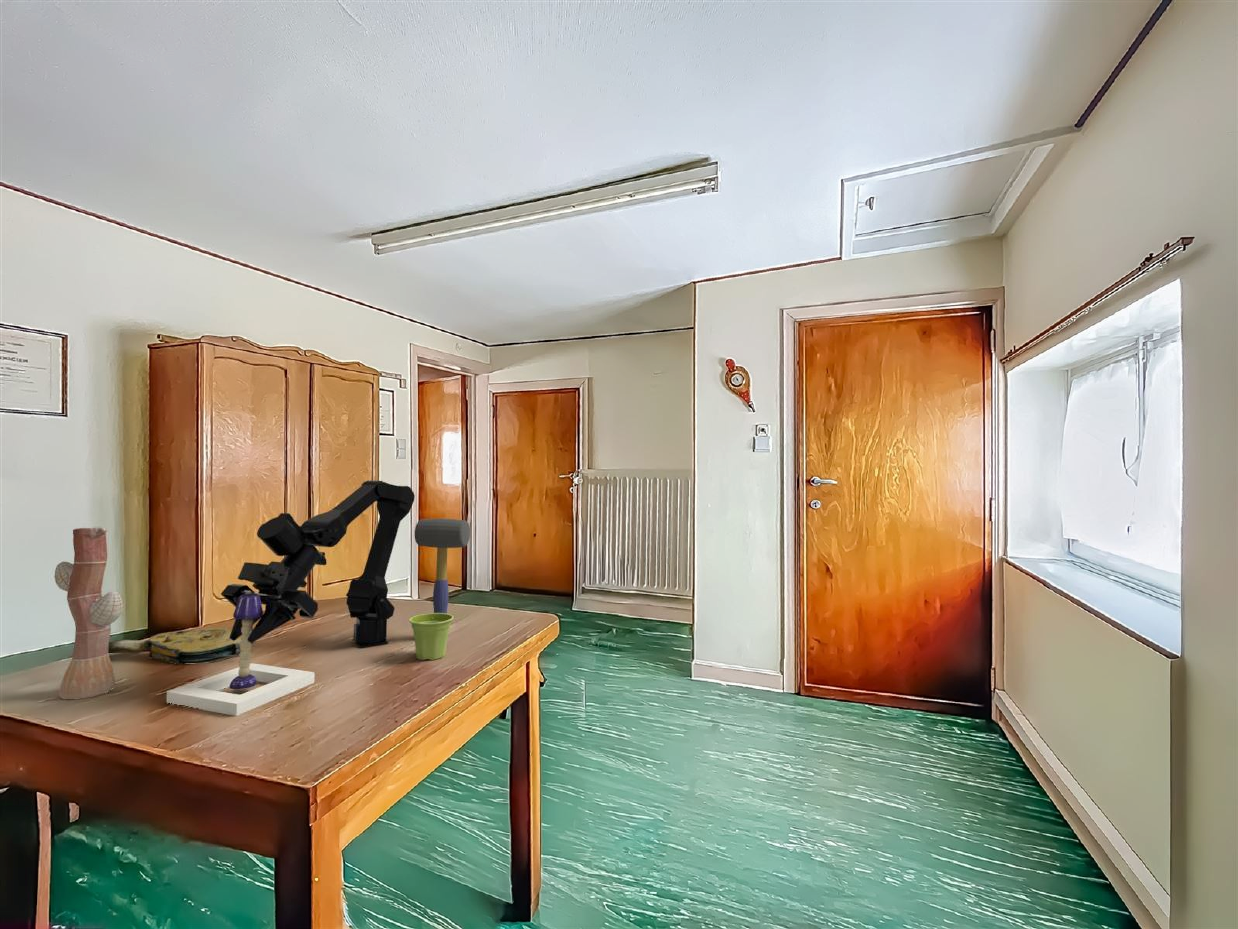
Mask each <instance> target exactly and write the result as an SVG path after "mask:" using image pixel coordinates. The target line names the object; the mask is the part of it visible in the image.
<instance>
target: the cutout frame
mask: <svg viewBox="0 0 1238 929" xmlns="http://www.w3.org/2000/svg"><path fill="white" fill-rule="evenodd" d="M249 668H250V673H249V674H250V675H253V676H255V678H256V680H257V683H258V682H259V683H260V682H261V683H265V685H261V686H259V687H256V688H253V689H252V690H249V691H247V692H243V693H242V694H237V693H231V692H225V691H224V692H223V691H222V690H225V689H228V688H230V683H231V681H232V680H233V679H234V678H235V677H237V676H239V674H238V671H239V669H240V667H236V668H233V669H230V670H226V671H224V672H220V673H217V674H216V675H212V676H209V677H206V678H203V679H200V680H197V681H194V682H191V683H188V684H185V685H182V686H179V687H177V688H174V689H171V690H167V691H166V702H167V703H166V704H168V703H170V704H169V705H174V704H177V705H176V706H179V705H185V706H189V707H188V708H190V707H193V708H192V709H196V708H199V709H198V710H201V709H202V710H201V711H208V712H212V713H219V714H224V715H229V716H235V717H237V716H240V715H243V714H244V713H246V712H249V711H251V710H253V709H256V708H258V707H261V706H264V705H266V704H267V703H268V704H269V703H271V702H273V701H275V700H277V699H280V698H282V697H284V696H287V695H289V694H291V693H293V692H296V691H298V690H300V689H302V688H305V687H308V686H310V685H312V684H315V672H314V671H307V670H300V669H296V668H295V669H293V668H288V667H280V666H275V665H274V666H273V665H267V664H259V663H252V662H251V663H250V666H249ZM224 688H225V689H224ZM171 703H172V704H171ZM185 706H184V707H185Z"/></svg>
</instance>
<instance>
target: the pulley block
mask: <svg viewBox="0 0 1238 929" xmlns="http://www.w3.org/2000/svg"><path fill="white" fill-rule="evenodd" d="M232 628H233V626H229V627H228V626H224V627H208V628H197V629H189V630H188V629H187V630H177V631H176V630H175V631H168V632H161V633H157V634H155V635H152V636H150V637H149V638H148V640H138V639H137V640H136V639H133V640H132V639H118V640H114V641H109V646H108V654H133V653H149V655H148V658H149V657H151V658H152V659H151V658H150V659H151V660H156V661H160V662H164V661H166V662H165V663H169V662H172V663H171V664H173V663H176V664H175V665H178V664H181V663H202V664H206V663H205V662H210V663H214V662H213V661H215V662H219V661H223V660H228V659H230V658H233V657H240V652H241V650H240V645H241V643H242V642H241V636H240V637H239V638H237V639H236V640H235V641H233V640H231V639H230V634H231V631H232ZM238 654H239V655H238ZM181 665H182V664H181Z"/></svg>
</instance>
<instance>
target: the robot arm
mask: <svg viewBox="0 0 1238 929" xmlns="http://www.w3.org/2000/svg"><path fill="white" fill-rule="evenodd" d="M415 496H416V495H415V492H414V491H413V489H412V487H410V486H408V485H396V484H392V483H388V482H385V481H384V480H366V481H363V482H362V483H361V486H359V487H358V488H357V489H356V490H355V491H353V492H352V493H351V494H350V495H348V496H347V497H346V498H344V499H343V500H342V501H341V502H339V503H338V504H337V505H335V506H334V507H333V508H332V509H330V510H328V511H326V512H322V513H320V514H316V515H314V516H312V517H310V518H308V519H307V520H305V521H304V522H303V523H302V524H301V525H299V524H298V523H297V522H296V521H295V519H294V517H293V516H292V515H291V514H290V512H289V513H288V512H280V513H279V514H278V516H276V517H273V518H271V519H270V520H269V519H268V520H267V521H266V522H265V523H262V524H261V525H260V526H259V527H258V529H257V532H256V535H257V537H258V538H259V539H260V541H261V542H263V544H265V545H266V546H267V547H268V548H269V549H270V551H271V552H272V553H273V554H275V556H276V557H283V558H281V559H282V560H281V561H271V562H269V563H268V564H265V563H260V562H259V563H258V562H244V563H243V565H242V568H241V569H240V572H239V575H238V576H237V579H238V580H240V581H247V582H250V583H253V584H252V588H254V589H255V590H258V592H255V591H254V590H253V589H252V588H251V587H250V586H248V585H247V584H238V583H233V584H227V586H226V587H225V588H224V589H223V590H222V592H221V593H220V595H221V596H222V597H223V598H224V599H225V600H226V601H228V602H229V603H230V604H231V605H232V606H234V607H235V608H236V606H237V603H238V600H239V598H240V596H241V595H243V594H258V595H259V597H260V601H261V605H265V608H264V611H263V615H262V616H261V617H258V618H253V624H252V626H253V625H255V624H256V625H255V626H254V627H253V630H252V632H251V634H250V636H249V637H248V639H247V641H248V642H250V643H252V644H253V643H254V642H256V641H258V640H259V639H261V638H263V637H265V636H266V635H268V634H269V633H271V632H273V631H274V630H276V629H277V628H280V627H281V626H283V625H284V624H287V623H288V622H290V621H294V620H295V619H297V618H296V616H295V614H296V613H297V612H298V614H299V617H300V618H303V619H304V618H306V619H313V618H314V616H315V615H316V613H317V612H318V610H319V603H318V602H317V600H316V599H314V598H313V597H312V596H311V595H310V593H308V592H307V591H306V590H302V589H299V588H306V586H307V585H308V582H307V581H306V580H305V579H306V578H307V577H308V576H309V574H310V573H311V571H312V570H313V569H314V567H315V566H316V565H318V566H326V565H327V564H328V563H327V562H328V561H327V559H326V553H325V552H324V551H320V550H318V548H319V547H322V548H332V547H335V546H337V545H338V544H339V543H340V541H341V540H342V539H343V538H344V536H345V535H346V534H347V530H348V527H349V525H350V524H351V523H352V522H354V521H355V519H357V518H358V517H359V516H360V515H361V514H363V513H364V512H365V511H366V510H367V509H368V508H370V507H371V506H372V505H373V504H374V503H375V502H376V510H377V512H378V516H379V518H378V522H377V525H376V529H375V532H374V535H373V539H372V541H371V544H370V545H371V546H370V549H369V552H368V556H367V558H366V562H365V565H364V569H363V572H362V574H361V575H360V576H359V577H358V578H357V579H356V578H352V579H351V581H350V584H349V588H348V590H347V593H346V594H345V596H346V605H347V608H348V611H349V616H350V618H351V619H352V618H356V623H354V624H353V636H352V637H353V638H352V641H353V643H355V644H356V645H357V646H358V647H359V648H365V647H373V646H380V645H386V644H389V640H388V639H387V631H388V630H387V628H388V624H387V623H388V620H389V619H390V618H391V617H394V612H395V606H394V605H393V604H392V602H391V601H390V600H389V599H388V598H387V597H388V592H389V589H388V585H387V581H386V574H387V571H388V567H389V563H390V561H391V560H390V559H391V555H392V552H393V548H394V545H395V543H396V542H395V541H396V538H397V534H398V531H399V528H400V524H401V521H403V519H404V518H405V517H406V516H407V515H408V514H410V512H411V509H412V506H413V504H414V501H415ZM317 547H318V548H317ZM298 610H299V611H298ZM234 619H235V618H234ZM242 626H243V625H242V619H235V620H234V623H233V626H232V627H233V628H232V631H231V634H230V639H231V640H233V641H235V640H236V639H237V638H239V637H240V636H241V635H242V632H241V628H242Z"/></svg>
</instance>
